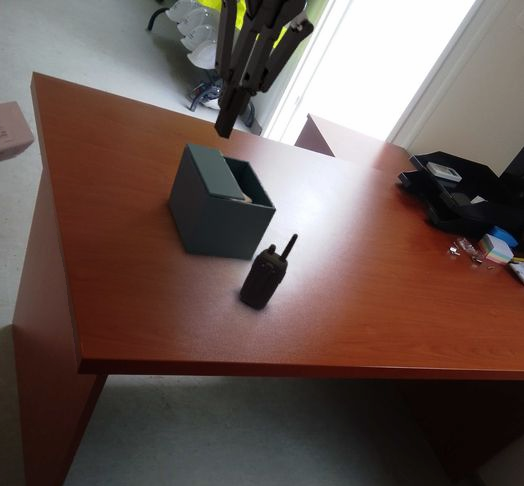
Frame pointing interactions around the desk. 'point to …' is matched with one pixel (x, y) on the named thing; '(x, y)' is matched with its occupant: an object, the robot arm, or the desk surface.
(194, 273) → the desk surface
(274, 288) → the two-way radio
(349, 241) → the desk surface
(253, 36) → the robot arm
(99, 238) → the desk surface
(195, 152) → the flap
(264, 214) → the carton
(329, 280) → the desk surface
